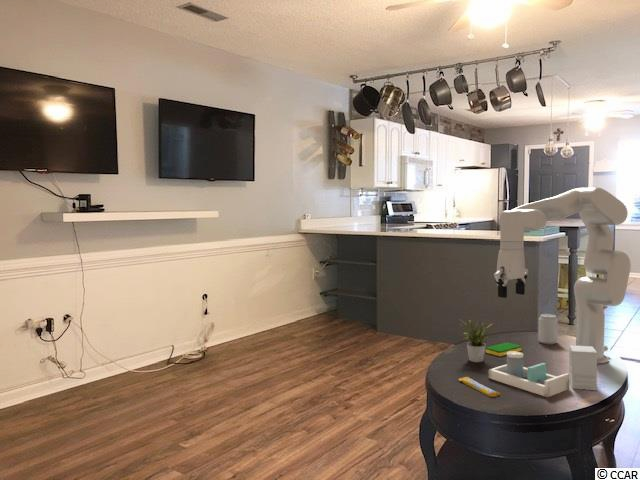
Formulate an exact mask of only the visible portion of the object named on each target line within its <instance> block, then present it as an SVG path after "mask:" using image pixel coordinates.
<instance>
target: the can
mask: <svg viewBox="0 0 640 480" xmlns="http://www.w3.org/2000/svg"><path fill="white" fill-rule="evenodd" d="M558 325H559V319H558V318H557V315H555V314H551V313H542V314H540V316H539V317H538V338H537V339H538V342H540V343H541V344H544V345H555V344H556V343H558V338H559V337H558V333H559V331H558V330H559V327H558Z"/></svg>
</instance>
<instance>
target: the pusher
mask: <svg viewBox="0 0 640 480" xmlns="http://www.w3.org/2000/svg"><path fill="white" fill-rule="evenodd" d="M527 368H528V378H527V380H530V381H533V382H536V383H539V384H543V385H545V380H546V373H547V362H546V363H545V362H541V363H538V364H533V365H531V366H528V367H527Z"/></svg>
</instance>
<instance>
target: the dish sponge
mask: <svg viewBox="0 0 640 480" xmlns="http://www.w3.org/2000/svg"><path fill="white" fill-rule="evenodd" d="M509 351H516V352H521V351H522V345H519V344H516V343H510V342H503V343H498V344H496V345H490V346H487V347H485V353H486V354H489V355H493V356H498V357H504V356H507V352H509Z"/></svg>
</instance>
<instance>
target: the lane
mask: <svg viewBox="0 0 640 480" xmlns="http://www.w3.org/2000/svg"><path fill="white" fill-rule="evenodd" d="M488 379H490V380H493V381H496V382H499V383H503V384H506V385H508V386H511V387H515V388H518V389H521V390H524V391H526V392H527V391H528V392H530V393H533V394H535V395H536V394H537V395H539V396H542V397H544V398H545V397H546V398H549V397H552V396H555V395H558V394H560V393H562V392H565V391H567V390H570V382H569V372H568V373H567V372H566V373H561V375H557V376H556V375H553V374H550V373H547V372H546V380H545V385H543V384H539V383H536V382H533V381H530V380H528V367H525V366H523V378H520V377H517V376H513V375H510V374H507V363H506V364H503V365H500V366H496V367H494V368H493V367H492V368H489V369H488Z"/></svg>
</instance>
